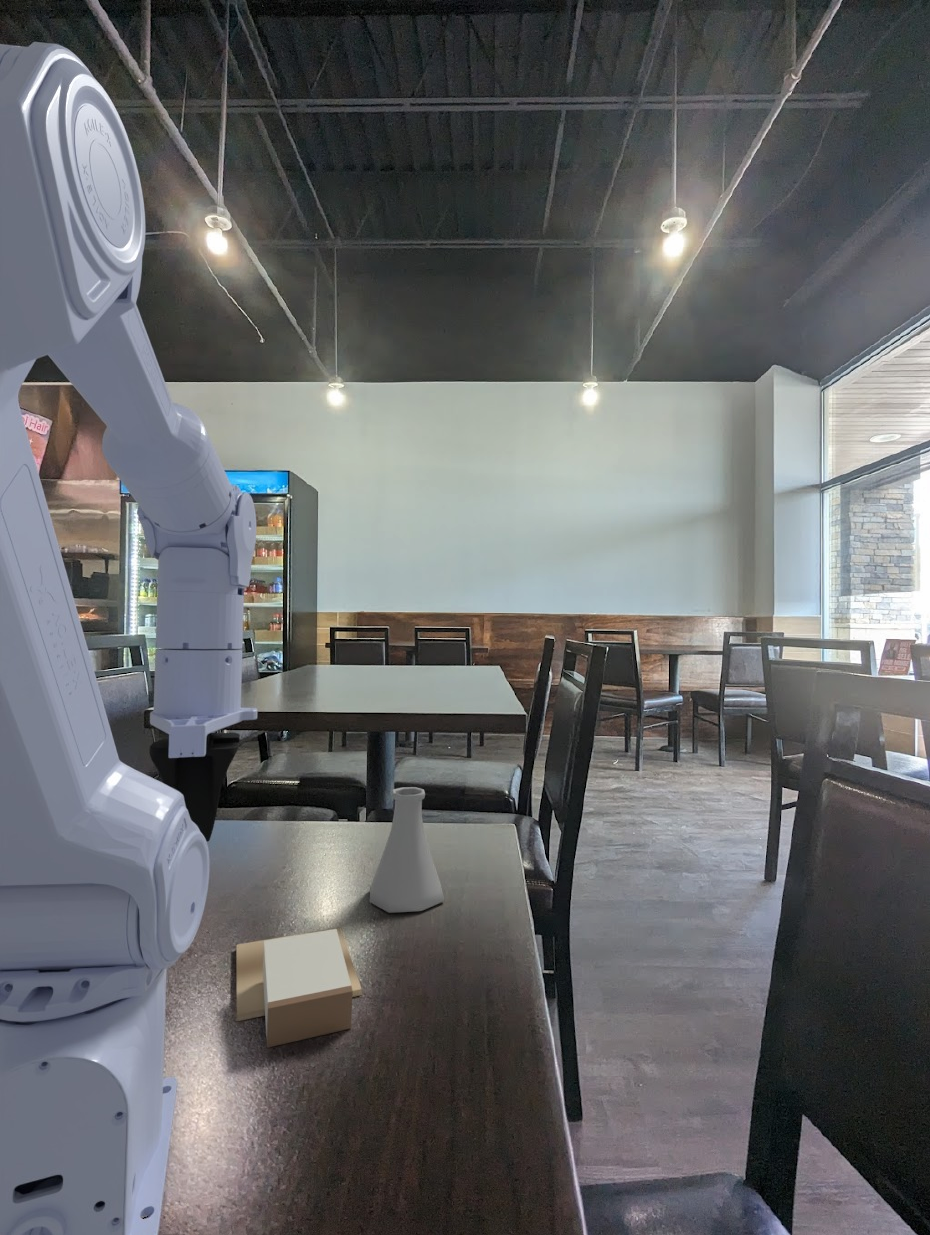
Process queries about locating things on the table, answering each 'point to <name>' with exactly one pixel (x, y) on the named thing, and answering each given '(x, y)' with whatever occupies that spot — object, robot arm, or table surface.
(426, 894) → the flask
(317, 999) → the cream slab
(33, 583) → the robot arm
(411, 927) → the table surface
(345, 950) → the cork mat
